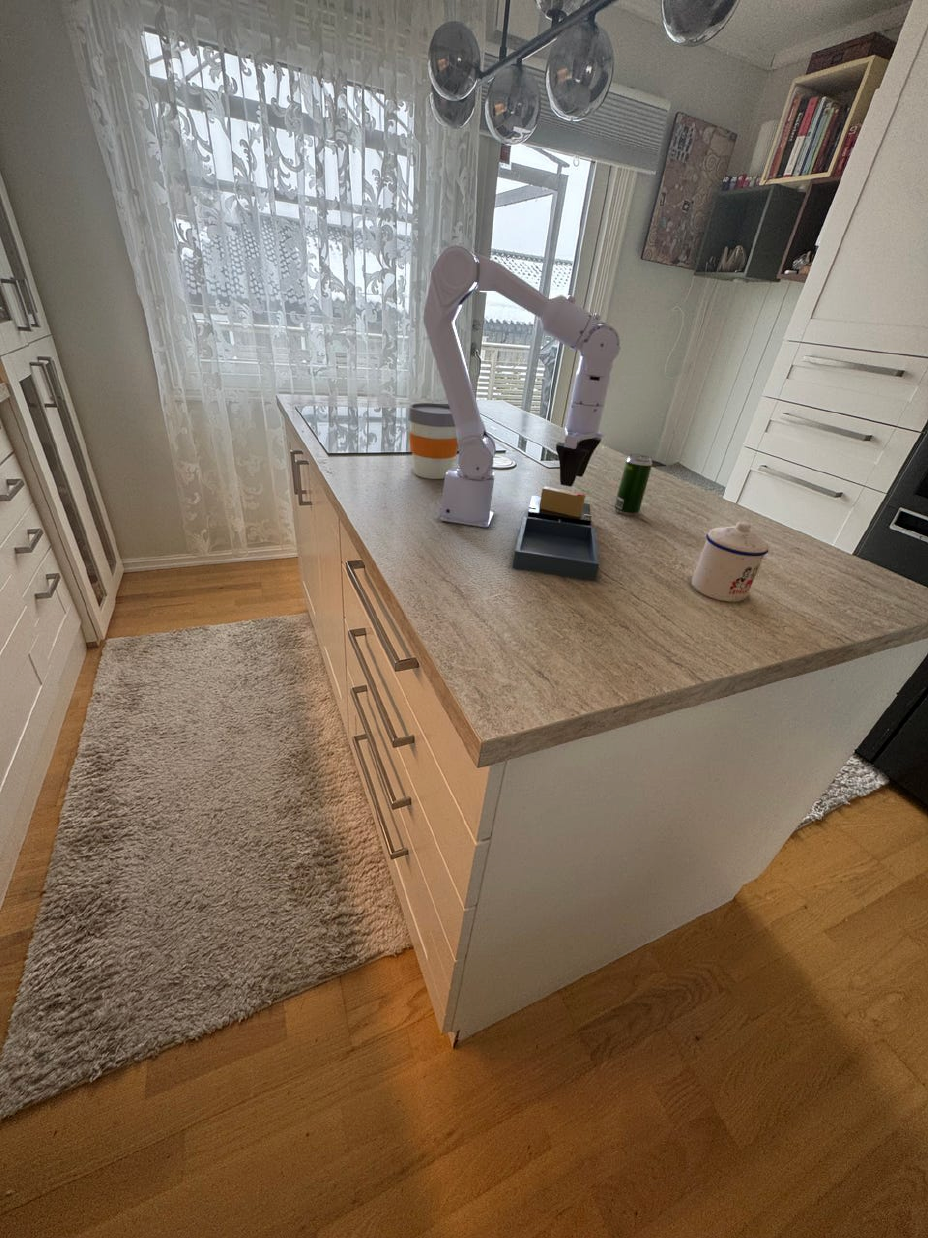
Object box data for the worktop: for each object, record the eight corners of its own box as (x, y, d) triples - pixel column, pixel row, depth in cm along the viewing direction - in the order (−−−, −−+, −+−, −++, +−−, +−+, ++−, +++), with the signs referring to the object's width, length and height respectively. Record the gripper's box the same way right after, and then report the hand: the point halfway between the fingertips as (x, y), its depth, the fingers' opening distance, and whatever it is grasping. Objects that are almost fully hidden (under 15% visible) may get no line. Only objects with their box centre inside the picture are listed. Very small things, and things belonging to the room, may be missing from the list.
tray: (512, 568, 85) (515, 550, 84) (520, 531, 99) (523, 515, 98) (595, 581, 84) (599, 564, 82) (591, 541, 98) (595, 526, 96)
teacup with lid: (734, 609, 80) (764, 539, 74) (679, 586, 85) (703, 519, 79) (762, 588, 87) (791, 523, 81) (710, 567, 92) (734, 505, 86)
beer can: (627, 517, 111) (642, 461, 105) (608, 509, 115) (622, 454, 109) (643, 514, 114) (659, 459, 108) (624, 506, 118) (638, 452, 111)
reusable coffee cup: (457, 483, 121) (462, 416, 113) (403, 478, 120) (405, 410, 112) (458, 468, 131) (463, 405, 124) (409, 463, 131) (411, 400, 123)
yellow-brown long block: (539, 508, 101) (542, 486, 99) (541, 505, 102) (545, 484, 100) (578, 517, 98) (583, 496, 96) (581, 514, 100) (585, 493, 97)
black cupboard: (528, 511, 109) (531, 494, 107) (586, 519, 108) (590, 503, 106) (523, 535, 98) (526, 517, 96) (588, 545, 96) (592, 526, 94)
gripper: (601, 412, 82) (583, 494, 90) (618, 401, 94) (601, 475, 101) (558, 405, 85) (544, 486, 92) (580, 395, 96) (566, 468, 103)
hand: (571, 480), depth 97 cm, fingers open, 7 cm apart
